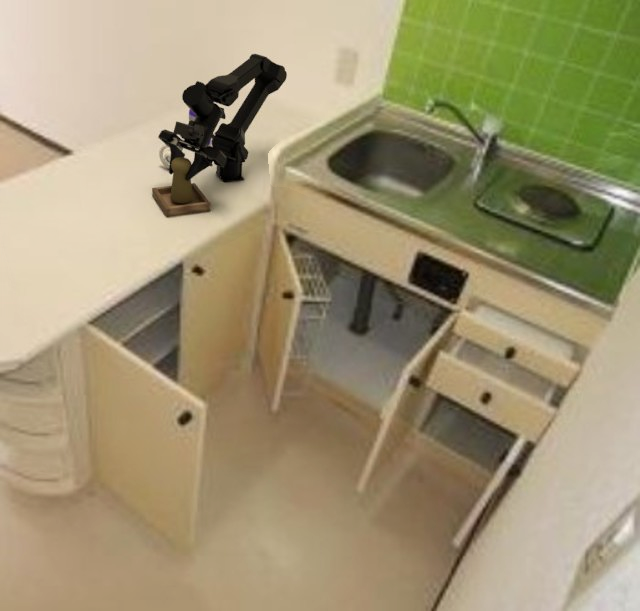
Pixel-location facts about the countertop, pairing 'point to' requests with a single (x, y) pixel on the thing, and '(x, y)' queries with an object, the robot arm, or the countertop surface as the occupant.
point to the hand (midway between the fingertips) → (178, 177)
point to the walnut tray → (179, 209)
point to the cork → (181, 181)
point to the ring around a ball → (165, 156)
